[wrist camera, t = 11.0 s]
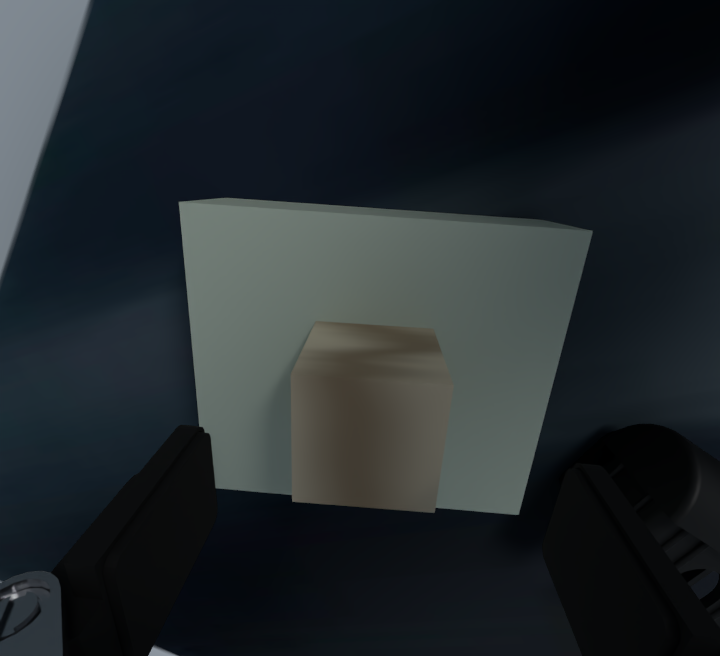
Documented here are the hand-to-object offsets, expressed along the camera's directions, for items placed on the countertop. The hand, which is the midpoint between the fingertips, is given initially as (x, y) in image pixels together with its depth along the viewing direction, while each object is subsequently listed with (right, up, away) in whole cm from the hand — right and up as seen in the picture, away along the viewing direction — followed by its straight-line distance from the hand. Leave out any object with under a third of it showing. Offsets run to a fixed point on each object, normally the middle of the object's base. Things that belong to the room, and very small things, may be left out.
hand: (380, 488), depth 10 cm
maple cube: (0, +2, +7) cm, 7 cm away
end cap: (+18, -5, +15) cm, 23 cm away
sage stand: (0, +4, +12) cm, 12 cm away
